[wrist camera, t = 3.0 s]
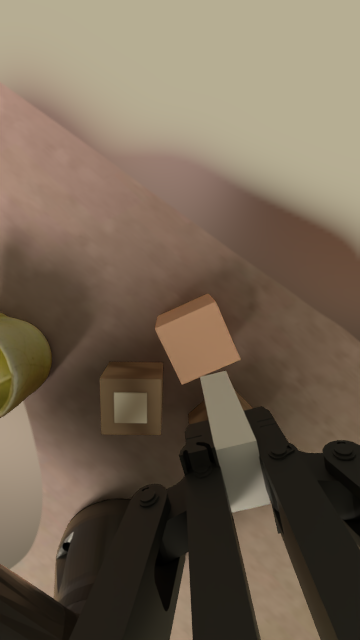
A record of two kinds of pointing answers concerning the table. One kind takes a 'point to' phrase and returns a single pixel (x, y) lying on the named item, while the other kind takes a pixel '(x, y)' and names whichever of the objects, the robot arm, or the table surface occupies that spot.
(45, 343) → the mug
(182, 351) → the plain block
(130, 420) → the walnut block
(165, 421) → the table surface
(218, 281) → the table surface
